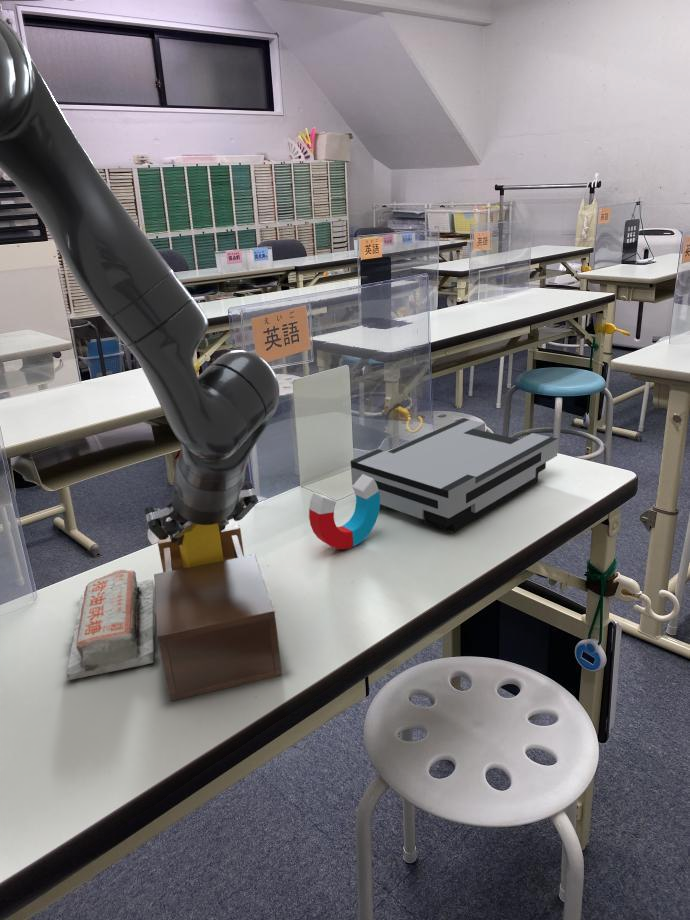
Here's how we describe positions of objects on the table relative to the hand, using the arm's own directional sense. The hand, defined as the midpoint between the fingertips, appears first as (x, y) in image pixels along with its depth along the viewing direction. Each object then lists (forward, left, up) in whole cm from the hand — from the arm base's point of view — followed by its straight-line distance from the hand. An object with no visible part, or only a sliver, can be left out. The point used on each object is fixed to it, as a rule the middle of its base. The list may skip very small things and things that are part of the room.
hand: (196, 533), depth 91 cm
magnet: (+22, +7, -10) cm, 26 cm away
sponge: (0, -1, -6) cm, 6 cm away
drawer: (0, +1, -9) cm, 9 cm away
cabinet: (0, -13, -10) cm, 16 cm away
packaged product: (-12, -3, -10) cm, 16 cm away
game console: (+46, +19, -10) cm, 51 cm away
